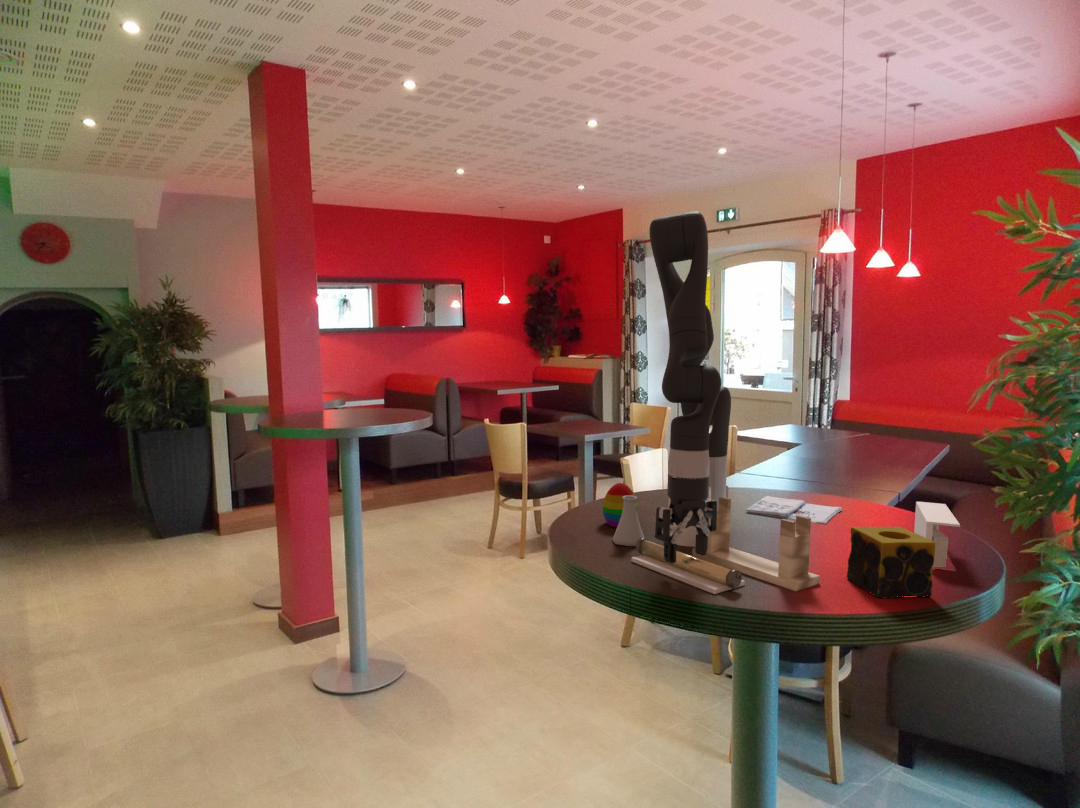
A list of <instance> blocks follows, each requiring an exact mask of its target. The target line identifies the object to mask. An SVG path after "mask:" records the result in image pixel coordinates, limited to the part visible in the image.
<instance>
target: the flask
mask: <svg viewBox="0 0 1080 808" xmlns="http://www.w3.org/2000/svg"><path fill="white" fill-rule="evenodd" d="M622 498H623V500H624V507H623V512H622V516H621V518H620V521H619V524H618V527H616V530H615V533H614V535H613V537H612V540H611V541H613V543H614V544H615V545H617V546H618V545H619V546H625V547H636V543H637V541H638V540H639V539H640V538H644V539H646V538H645V536H644V532H643V530H642V526H641V524H640V520H639V517H638V509H637V510H636V501H637V500H638V497H637V496H636V495H635V496H623V497H622Z"/></svg>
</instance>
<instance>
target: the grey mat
mask: <svg viewBox="0 0 1080 808" xmlns="http://www.w3.org/2000/svg"><path fill="white" fill-rule="evenodd" d="M630 561H631V563H635V564H636V565H640V566H642V567H644V568H646V569H648V570H649V569H650V570H653V571H655V572H657V573H660V574H661V575H664V576H665V575H666V576H667V577H670V578H672V579H674V580H677V581H680V582H683V583H685V584H687V585H691V586H693V587H695V588H697V589H700V590H704V591H706V592H708V593H711V594H713V595H716V594H719V593H723V592H726V591H727V592H728V591H729V590H730V591H731V590H733V589H732V588H730V587H728V586H727V585H725V584H722V583H720V582H717V581H714V580H712V579H709V578H706V577H704V576H701V575H698V574H695V573H693V572H690V571H687V570H685V569H682V568H679V567H677V566H674V565H671V564H669V563H666V562H663V561H661V560H658V559H655V558H652V557H650V556H647V555H642V554H640V555H637V556H632V557H631V560H630ZM745 585H746V581H745V580H743V579H742V580H741V583H740V585H739V587H743V586H745ZM739 587H738V588H739Z"/></svg>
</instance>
